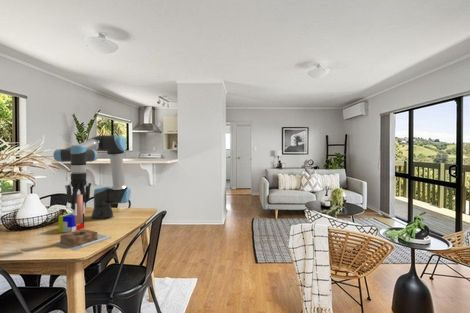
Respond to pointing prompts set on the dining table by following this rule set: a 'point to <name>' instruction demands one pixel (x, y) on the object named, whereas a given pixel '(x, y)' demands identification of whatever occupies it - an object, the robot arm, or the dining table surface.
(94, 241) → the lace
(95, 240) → the mat
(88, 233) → the brown wooden square block
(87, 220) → the dining table surface
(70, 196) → the robot arm
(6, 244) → the dining table surface
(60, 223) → the puzzle toy
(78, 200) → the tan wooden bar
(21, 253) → the dining table surface
